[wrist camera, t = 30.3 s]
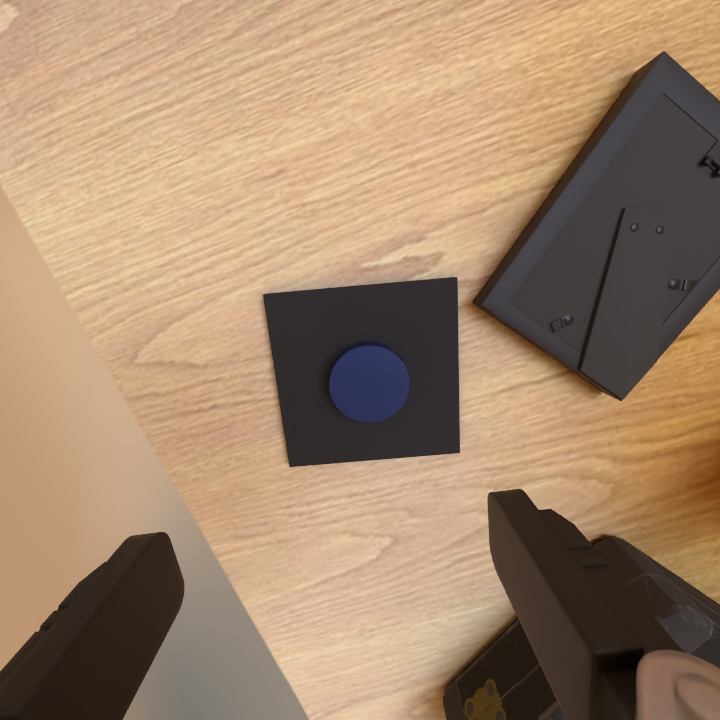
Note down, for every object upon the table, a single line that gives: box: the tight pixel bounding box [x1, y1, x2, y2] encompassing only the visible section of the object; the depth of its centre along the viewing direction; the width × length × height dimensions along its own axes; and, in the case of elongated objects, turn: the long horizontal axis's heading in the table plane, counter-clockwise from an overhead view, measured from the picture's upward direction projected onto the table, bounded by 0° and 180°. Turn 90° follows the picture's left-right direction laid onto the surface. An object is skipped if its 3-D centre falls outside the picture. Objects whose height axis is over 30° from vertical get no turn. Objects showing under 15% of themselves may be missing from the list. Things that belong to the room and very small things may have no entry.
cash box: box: [443, 537, 720, 720], centre depth 31 cm, size 25×20×8 cm
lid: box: [329, 341, 410, 422], centre depth 25 cm, size 6×6×2 cm
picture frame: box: [473, 51, 720, 401], centre depth 23 cm, size 13×2×18 cm
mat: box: [263, 277, 460, 467], centre depth 26 cm, size 14×14×1 cm
